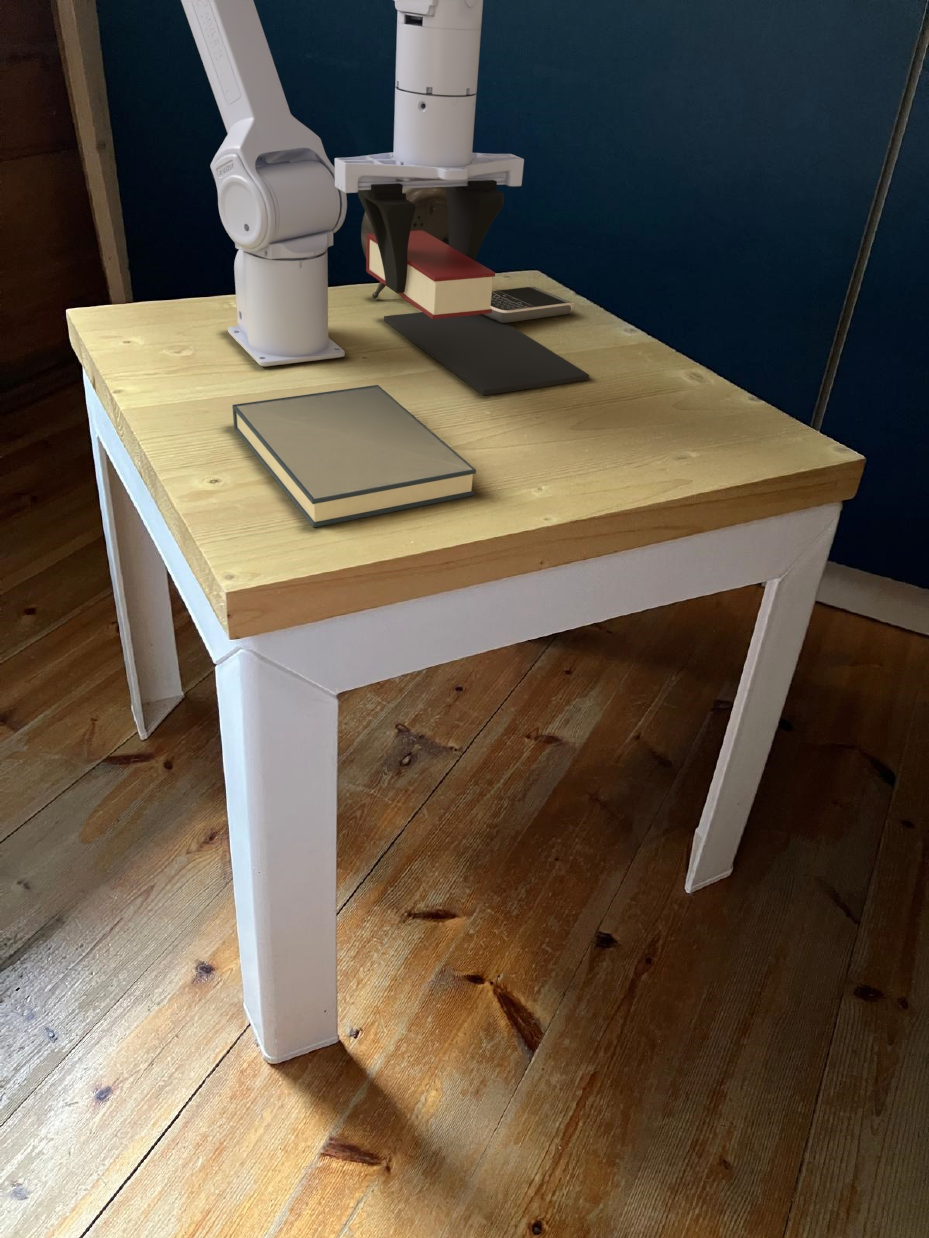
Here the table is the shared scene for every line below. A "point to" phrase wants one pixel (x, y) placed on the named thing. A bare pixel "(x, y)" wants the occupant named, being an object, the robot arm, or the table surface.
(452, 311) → the top book
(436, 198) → the alarm clock
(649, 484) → the table surface
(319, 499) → the bottom book
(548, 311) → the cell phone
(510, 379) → the mat
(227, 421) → the table surface
